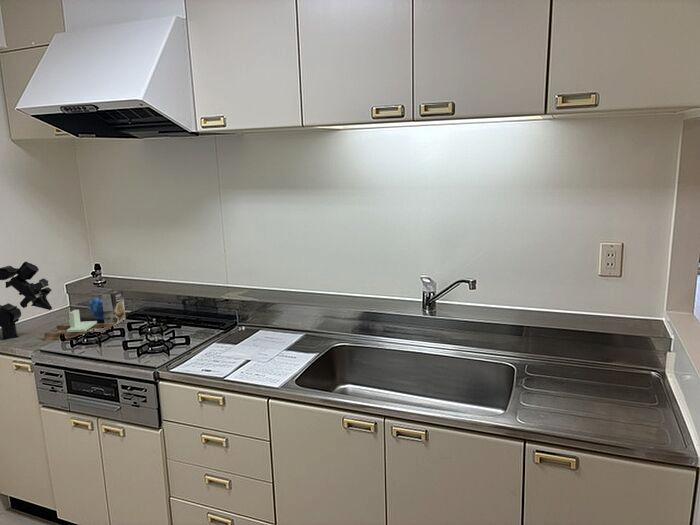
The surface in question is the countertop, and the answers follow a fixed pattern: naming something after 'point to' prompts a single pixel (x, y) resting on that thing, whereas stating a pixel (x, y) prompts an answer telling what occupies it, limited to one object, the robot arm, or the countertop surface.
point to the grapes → (96, 308)
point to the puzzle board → (63, 330)
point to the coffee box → (113, 307)
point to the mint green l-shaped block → (78, 323)
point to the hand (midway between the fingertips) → (51, 309)
